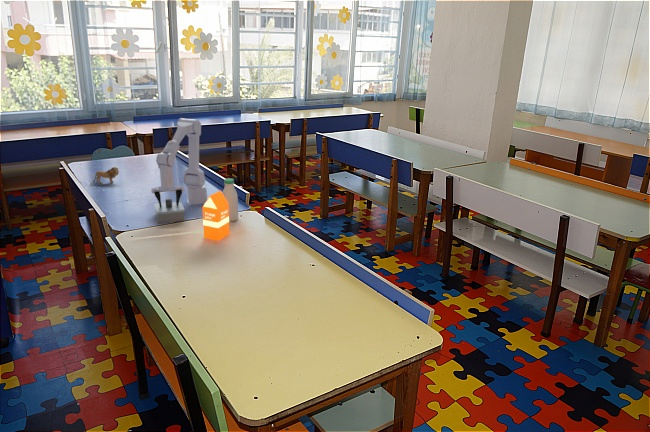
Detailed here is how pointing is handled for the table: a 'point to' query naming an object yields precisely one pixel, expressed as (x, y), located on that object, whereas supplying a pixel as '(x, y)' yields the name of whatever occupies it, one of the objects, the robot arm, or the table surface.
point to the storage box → (170, 217)
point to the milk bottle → (231, 199)
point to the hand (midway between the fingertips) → (169, 205)
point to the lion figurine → (107, 174)
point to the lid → (169, 207)
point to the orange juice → (216, 217)
